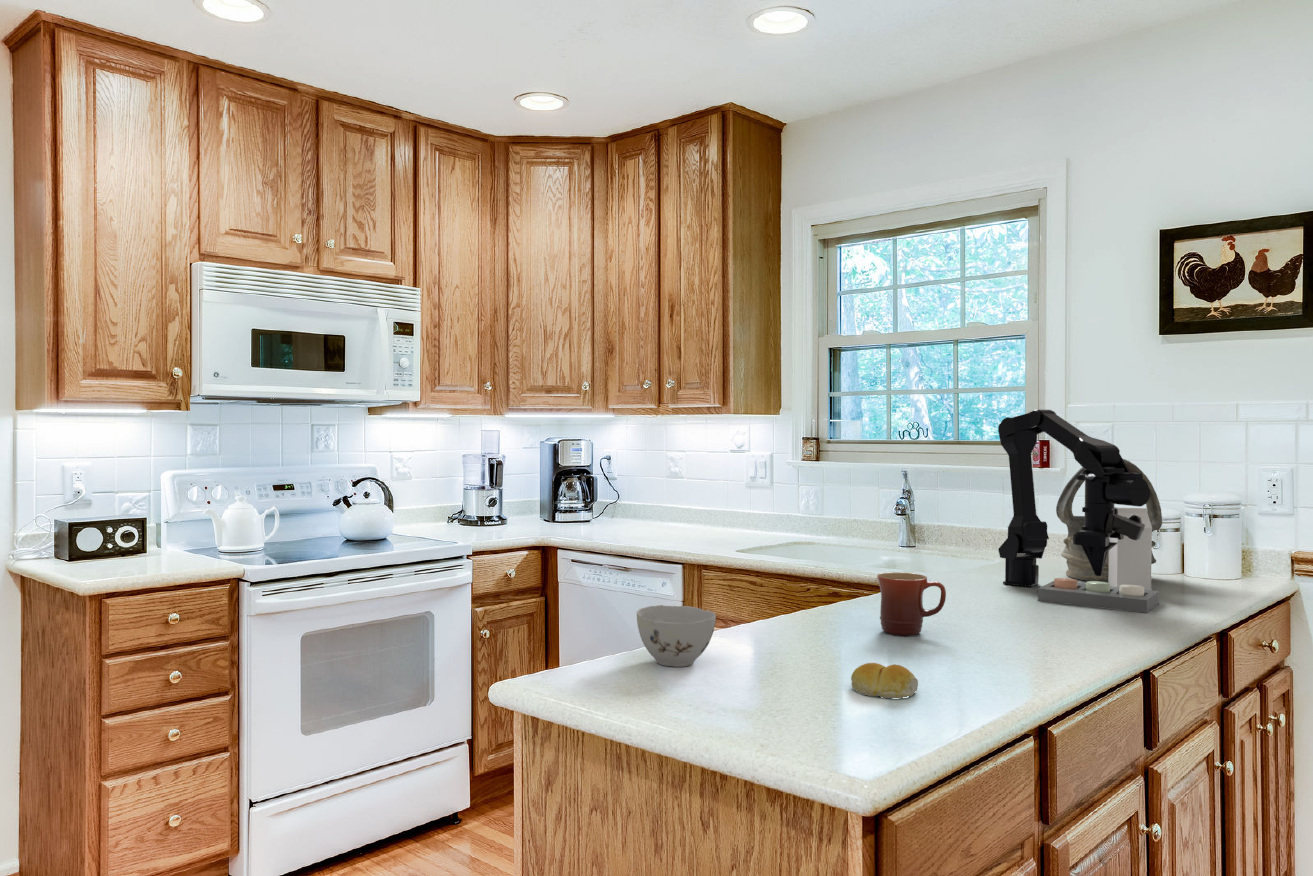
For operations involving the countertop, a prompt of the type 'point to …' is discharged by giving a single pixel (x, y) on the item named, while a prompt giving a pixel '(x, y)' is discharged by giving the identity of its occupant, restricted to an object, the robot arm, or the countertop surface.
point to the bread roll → (884, 681)
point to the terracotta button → (1065, 583)
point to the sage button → (1098, 586)
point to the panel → (1099, 598)
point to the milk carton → (1132, 554)
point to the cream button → (1131, 590)
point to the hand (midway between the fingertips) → (1098, 575)
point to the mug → (905, 602)
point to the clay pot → (1075, 553)
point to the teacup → (675, 633)
